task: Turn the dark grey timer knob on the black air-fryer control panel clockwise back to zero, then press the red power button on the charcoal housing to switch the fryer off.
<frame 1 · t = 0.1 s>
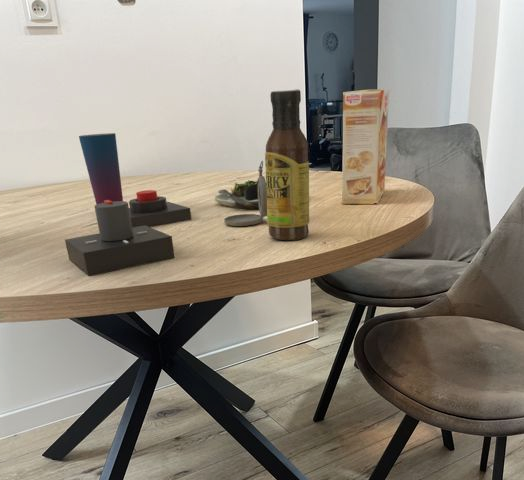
pocket watch: (250, 224, 88), on the table
sauce bottle: (289, 238, 78), on the table
coffeecake box: (364, 198, 104), on the table
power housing: (150, 221, 95), on the table
timer knob: (114, 219, 69), point 5 cm above the table, hinge at 90.0°
power button: (147, 196, 93), point 4 cm above the table, slide at 0.1 cm
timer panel: (121, 258, 72), on the table
cup: (112, 215, 104), on the table
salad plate: (260, 203, 106), on the table
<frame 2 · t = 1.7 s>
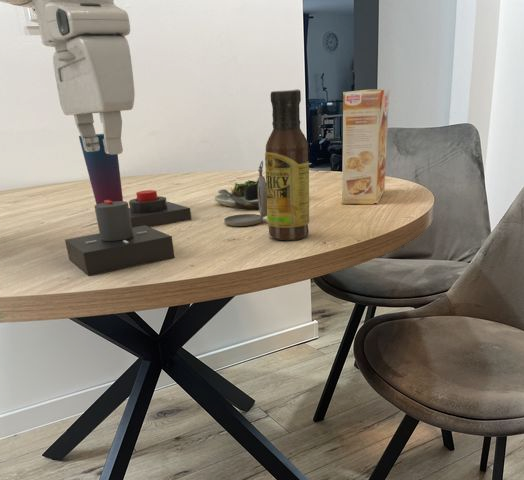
hand: (103, 152, 66), 14 cm above the table, tool pointing down, fingers open, 8 cm apart
nothing on the table moved.
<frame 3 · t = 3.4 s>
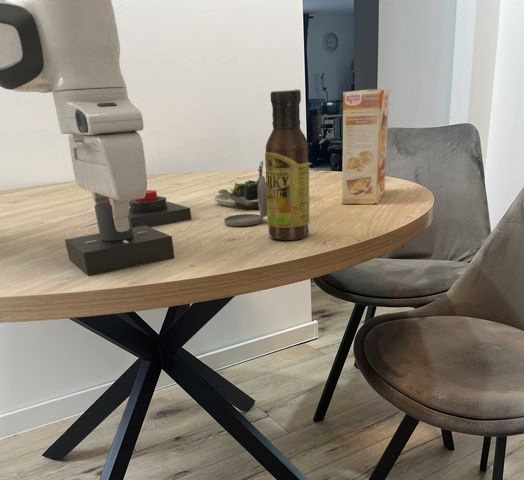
hand: (115, 227, 70), 4 cm above the table, tool pointing down, fingers closed on timer knob, 4 cm apart
timer knob: (114, 219, 69), point 5 cm above the table, hinge at 90.0°, touching gripper
everything else where it was.
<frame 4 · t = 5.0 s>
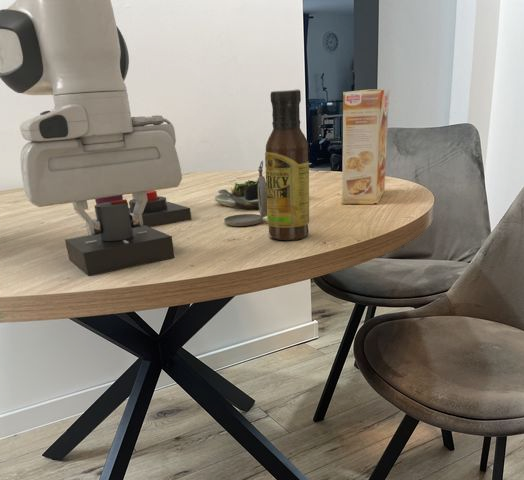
hand: (116, 230, 70), 4 cm above the table, tool pointing down, fingers closed on timer knob, 4 cm apart
timer knob: (114, 219, 69), point 5 cm above the table, hinge at 1.1°, touching gripper
everything else where it was.
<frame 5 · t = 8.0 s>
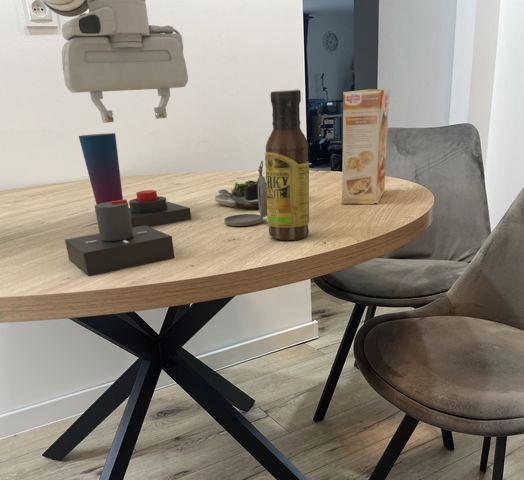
hand: (135, 120, 87), 17 cm above the table, tool pointing down, fingers open, 8 cm apart
timer knob: (114, 219, 69), point 5 cm above the table, hinge at 1.0°
everything else where it was.
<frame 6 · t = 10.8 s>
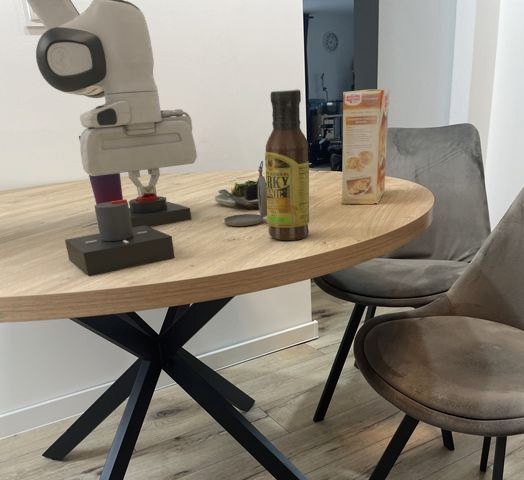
hand: (147, 196, 93), 5 cm above the table, tool pointing down, fingers closed, pressing on power button
power button: (147, 201, 93), point 4 cm above the table, slide at -0.7 cm, touching gripper
everything else where it was.
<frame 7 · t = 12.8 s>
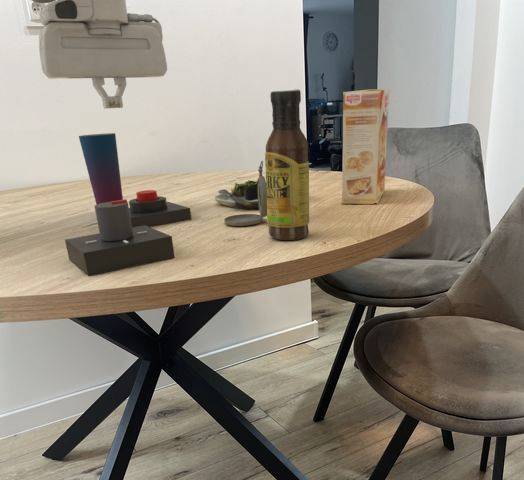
hand: (113, 108, 87), 19 cm above the table, tool pointing down, fingers closed
power button: (147, 196, 93), point 4 cm above the table, slide at 0.1 cm
everything else where it was.
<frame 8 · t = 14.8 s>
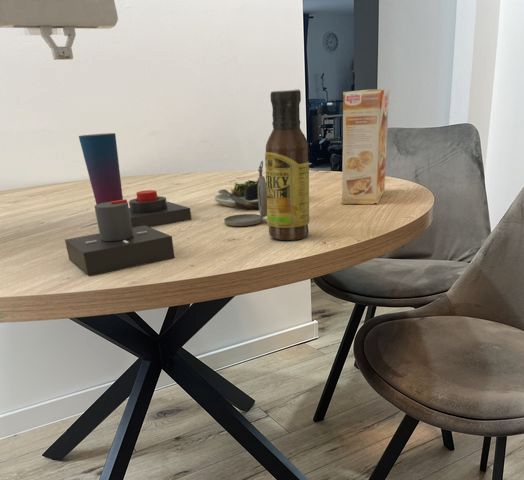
hand: (63, 59, 86), 27 cm above the table, tool pointing down, fingers closed
nothing on the table moved.
at the end: timer knob at +1° (first picture: +90°); power button pushed in 1.0 cm at the most during the clip, back to where it started at the end; power button slide at 0.1 cm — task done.
